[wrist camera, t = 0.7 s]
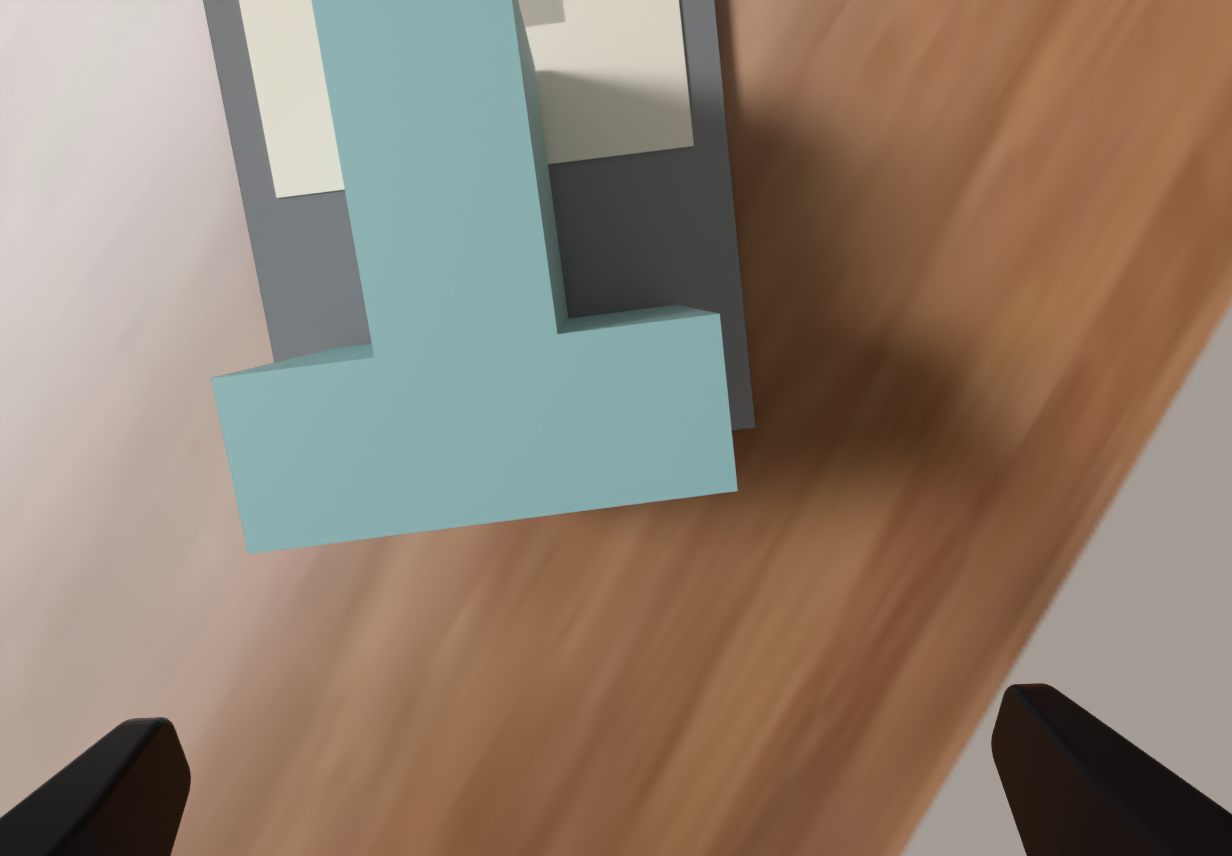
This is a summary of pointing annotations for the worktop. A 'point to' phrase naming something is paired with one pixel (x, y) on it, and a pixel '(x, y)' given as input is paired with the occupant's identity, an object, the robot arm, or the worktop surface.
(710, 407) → the t slider
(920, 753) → the worktop surface
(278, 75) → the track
